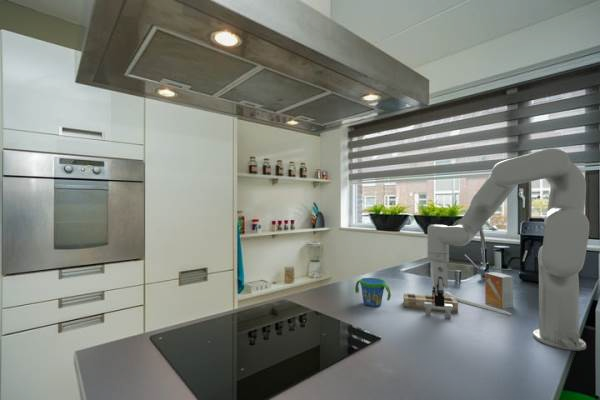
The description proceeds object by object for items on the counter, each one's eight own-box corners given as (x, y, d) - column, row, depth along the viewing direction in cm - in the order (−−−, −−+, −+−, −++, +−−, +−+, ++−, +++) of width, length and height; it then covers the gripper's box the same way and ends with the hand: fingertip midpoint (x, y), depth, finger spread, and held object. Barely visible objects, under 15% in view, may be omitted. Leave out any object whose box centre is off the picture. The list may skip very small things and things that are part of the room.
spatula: (514, 315, 116) (514, 307, 116) (510, 317, 114) (510, 309, 114) (446, 296, 140) (446, 290, 140) (441, 297, 137) (441, 291, 137)
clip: (453, 318, 111) (453, 295, 111) (424, 315, 114) (424, 293, 114) (451, 315, 114) (451, 293, 114) (423, 313, 117) (423, 291, 117)
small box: (484, 302, 130) (484, 272, 130) (495, 301, 132) (495, 271, 132) (502, 308, 122) (502, 277, 122) (513, 307, 124) (513, 276, 124)
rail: (457, 312, 117) (457, 302, 117) (404, 307, 123) (404, 298, 123) (454, 307, 124) (454, 297, 124) (403, 302, 130) (403, 293, 130)
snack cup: (395, 306, 125) (395, 282, 125) (381, 312, 118) (381, 286, 118) (364, 297, 136) (364, 275, 137) (350, 302, 129) (350, 279, 129)
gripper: (453, 261, 105) (453, 312, 105) (444, 253, 122) (444, 297, 121) (430, 260, 107) (430, 310, 107) (424, 252, 124) (424, 295, 124)
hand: (438, 302), depth 114 cm, fingers open, 5 cm apart
